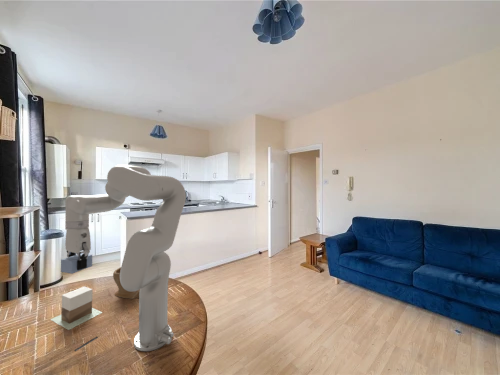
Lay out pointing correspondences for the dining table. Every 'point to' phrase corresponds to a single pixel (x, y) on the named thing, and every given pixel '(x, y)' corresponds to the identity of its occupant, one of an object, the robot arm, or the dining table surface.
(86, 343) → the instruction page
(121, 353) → the dining table surface
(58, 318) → the build board
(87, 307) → the brick
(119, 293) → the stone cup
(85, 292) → the brick
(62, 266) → the brick
